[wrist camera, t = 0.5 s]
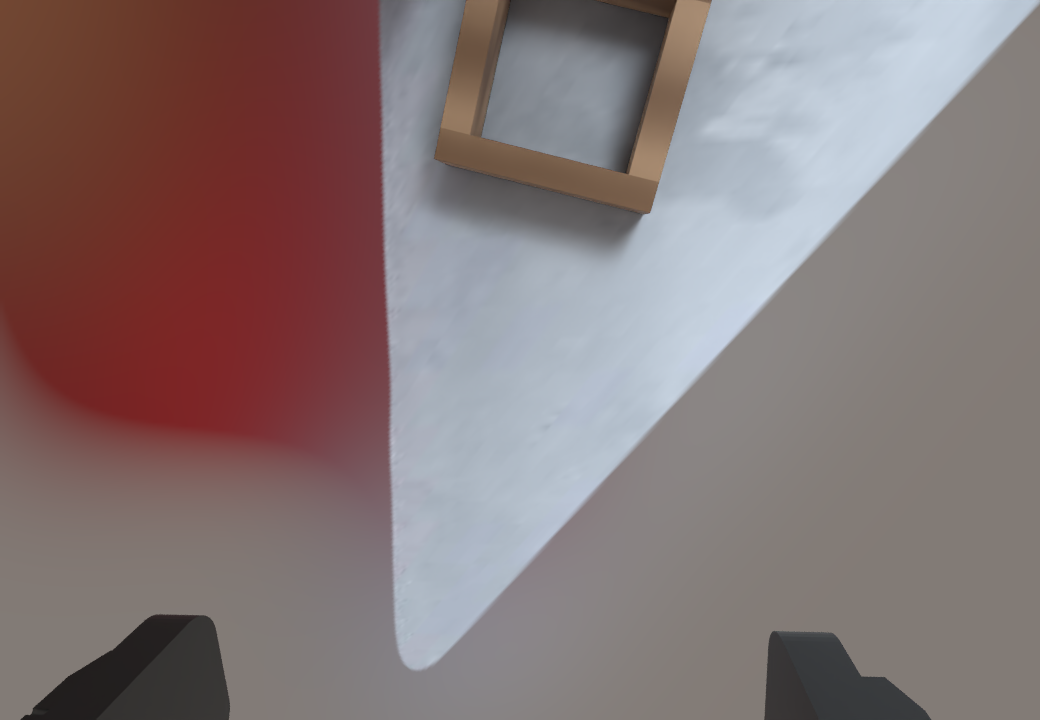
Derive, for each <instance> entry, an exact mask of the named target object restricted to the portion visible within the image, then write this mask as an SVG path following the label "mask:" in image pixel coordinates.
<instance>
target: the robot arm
mask: <svg viewBox="0 0 1040 720" xmlns="http://www.w3.org/2000/svg"><path fill="white" fill-rule="evenodd" d="M229 712H230V703H229V696H228V691H227V685H226V680H225V675H224V670H223V664H222V659H221V654H220V649H219V643H218V639H217V633H216V628H215V625H214V623H213V621H212V620H211V619H210V618H209V617H207V616H199V615H153V616H151V617H149V618H148V619H146V620H145V621H144V622H143V623H142V624H141V625H139V626H138V627H137V628H136V629H135V630H134V631H133V632H132V633H131V634H130V635H129V636H128V637H126V638H125V639H124V640H123V641H122V642H121V643H120V644H119V645H118V646H117V647H116V648H115V649H114V650H112V651H109V652H108V653H106V654H104V655H103V656H101V657H99V658H98V659H96V660H95V661H93V662H91V663H90V664H88V665H86V666H85V667H83V668H82V669H80V670H78V671H77V672H75V673H73V674H72V675H70V676H68V677H67V678H66V679H65V680H64V681H63V682H62V683H61V684H60V685H58V686H57V687H56V688H55V689H54V690H53V691H52V692H51V693H49V694H48V695H47V696H46V697H45V698H44V699H43V700H42V701H41V702H40V703H38V704H37V705H36V706H35V707H34V708H33V712H32V714H31V715H25V716H24V717H23V718H22V719H21V720H229ZM765 720H931V719H930V717H929V716H928V714H927V713H926V712H925V710H923V709H922V708H921V707H920V706H919V705H917V704H916V703H915V702H914V701H913V700H911V699H910V698H909V697H908V696H907V695H905V694H904V693H903V692H902V691H901V690H899V689H898V688H897V687H896V686H895V685H893V684H892V683H891V682H890V681H888V680H887V679H886V678H885V677H861V675H860V674H859V672H858V671H857V669H856V667H855V665H854V664H853V662H852V661H851V659H850V657H849V655H848V654H847V652H846V650H845V649H844V647H843V645H842V644H841V642H840V641H839V639H838V638H837V637H836V636H835V635H834V634H833V633H824V632H784V631H773V632H772V633H771V635H770V639H769V646H768V664H767V684H766V701H765Z"/></svg>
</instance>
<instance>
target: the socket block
mask: <svg viewBox="0 0 1040 720" xmlns="http://www.w3.org/2000/svg"><path fill="white" fill-rule="evenodd" d="M596 1H600V2H604V3H608V4H612V5H616V6H621V7H625V8H629V9H633V10H637V11H641V12H646V13H650V14H654V15H658V16H662V17H666V18H669V19H668V23H667V26H666V30H665V34H664V37H663V41H662V45H661V48H660V52H659V55H658V59H657V63H656V66H655V70H654V73H653V77H652V81H651V84H650V88H649V92H648V95H647V99H646V102H645V106H644V110H643V113H642V117H641V121H640V124H639V128H638V131H637V135H636V139H635V142H634V146H633V149H632V153H631V157H630V160H629V164H628V168H627V171H626V174H624V173H620V172H616V171H612V170H609V169H605V168H601V167H597V166H593V165H589V164H585V163H581V162H577V161H573V160H569V159H565V158H561V157H557V156H553V155H549V154H545V153H541V152H537V151H533V150H529V149H525V148H521V147H517V146H513V145H509V144H505V143H501V142H497V141H493V140H489V139H485V138H481V134H482V130H483V125H484V121H485V116H486V112H487V107H488V102H489V98H490V93H491V89H492V84H493V80H494V75H495V70H496V66H497V61H498V57H499V52H500V47H501V43H502V38H503V34H504V29H505V25H506V20H507V15H508V11H509V6H510V2H511V0H466V4H465V9H464V14H463V19H462V24H461V29H460V33H459V38H458V43H457V48H456V53H455V58H454V63H453V68H452V73H451V78H450V83H449V88H448V93H447V98H446V103H445V107H444V112H443V117H442V122H441V127H440V132H439V137H438V142H437V147H436V152H435V157H434V159H436V160H438V161H440V162H442V163H445V164H447V165H451V166H454V167H458V168H462V169H466V170H470V171H474V172H478V173H482V174H486V175H490V176H494V177H498V178H502V179H506V180H510V181H514V182H518V183H522V184H526V185H530V186H534V187H538V188H542V189H546V190H550V191H553V192H557V193H561V194H565V195H569V196H573V197H577V198H581V199H585V200H589V201H593V202H597V203H601V204H605V205H609V206H613V207H617V208H621V209H625V210H629V211H633V212H637V213H641V214H648V213H650V211H651V208H652V205H653V201H654V198H655V194H656V191H657V187H658V184H659V180H660V177H661V173H662V170H663V167H664V163H665V160H666V156H667V153H668V149H669V146H670V142H671V139H672V136H673V132H674V129H675V125H676V122H677V118H678V115H679V111H680V108H681V104H682V101H683V98H684V94H685V91H686V87H687V84H688V80H689V77H690V73H691V70H692V67H693V63H694V60H695V56H696V53H697V49H698V46H699V42H700V39H701V35H702V32H703V29H704V25H705V22H706V18H707V15H708V11H709V8H710V4H711V1H712V0H596Z"/></svg>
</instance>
